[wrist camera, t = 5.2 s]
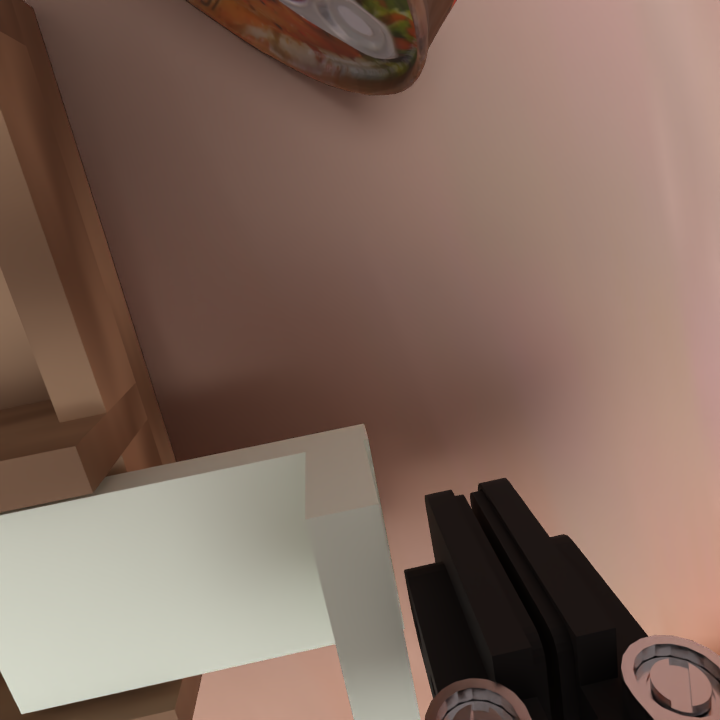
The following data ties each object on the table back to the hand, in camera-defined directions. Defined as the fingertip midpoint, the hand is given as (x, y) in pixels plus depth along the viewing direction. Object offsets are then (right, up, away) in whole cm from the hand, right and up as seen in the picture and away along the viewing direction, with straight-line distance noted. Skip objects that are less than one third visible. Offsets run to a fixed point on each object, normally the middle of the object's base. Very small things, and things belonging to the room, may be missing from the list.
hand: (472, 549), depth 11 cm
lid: (-6, -1, +1) cm, 6 cm away
